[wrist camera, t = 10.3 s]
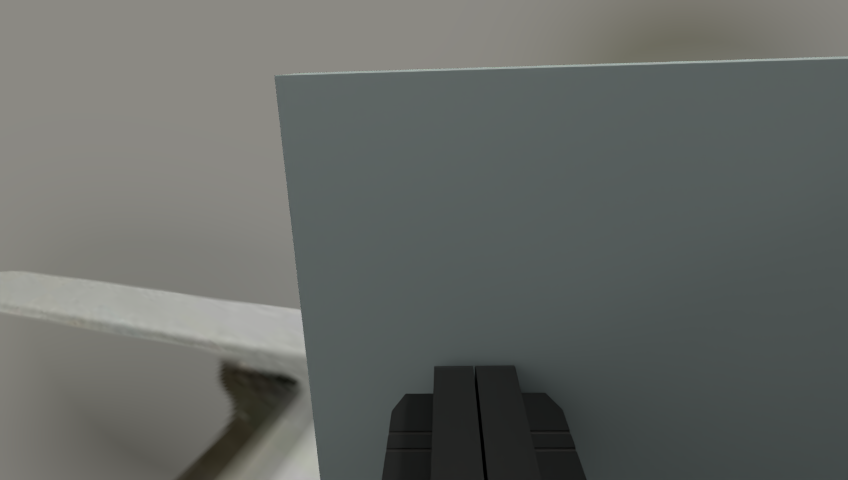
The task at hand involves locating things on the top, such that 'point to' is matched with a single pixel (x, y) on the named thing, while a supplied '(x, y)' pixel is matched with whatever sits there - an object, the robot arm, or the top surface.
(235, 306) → the top surface
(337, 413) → the side door
